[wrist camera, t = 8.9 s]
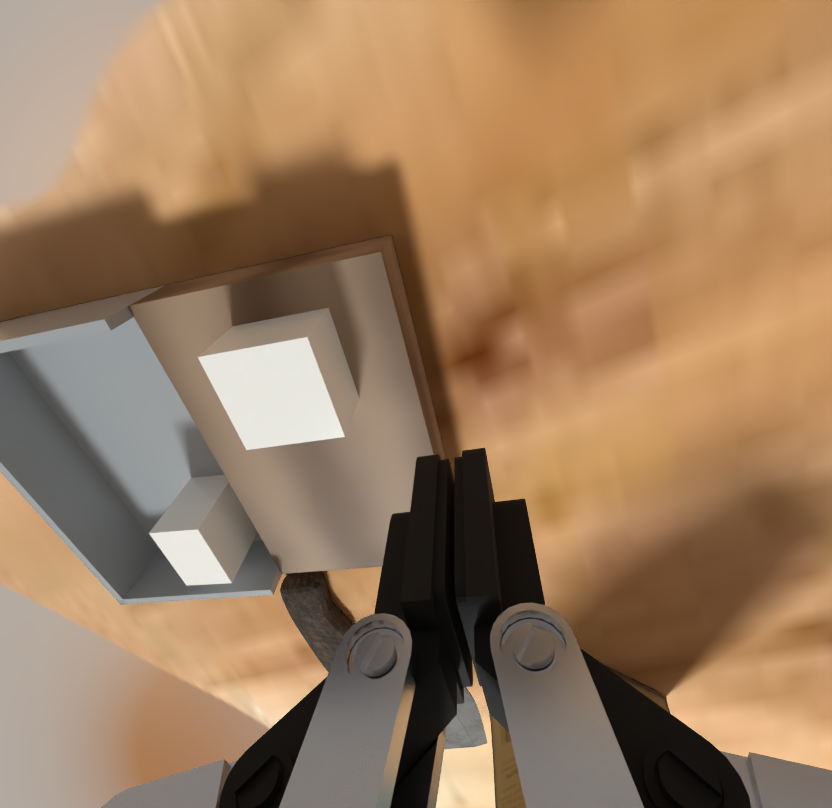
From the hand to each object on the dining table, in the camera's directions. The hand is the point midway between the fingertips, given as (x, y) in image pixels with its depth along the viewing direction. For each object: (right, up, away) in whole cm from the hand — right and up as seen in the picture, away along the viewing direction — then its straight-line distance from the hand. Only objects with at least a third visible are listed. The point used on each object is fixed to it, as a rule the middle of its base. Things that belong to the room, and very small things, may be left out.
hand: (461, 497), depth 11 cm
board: (-6, +1, +14) cm, 15 cm away
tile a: (-12, -5, +16) cm, 20 cm away
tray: (-17, 0, +16) cm, 23 cm away
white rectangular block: (-6, +4, +9) cm, 12 cm away
